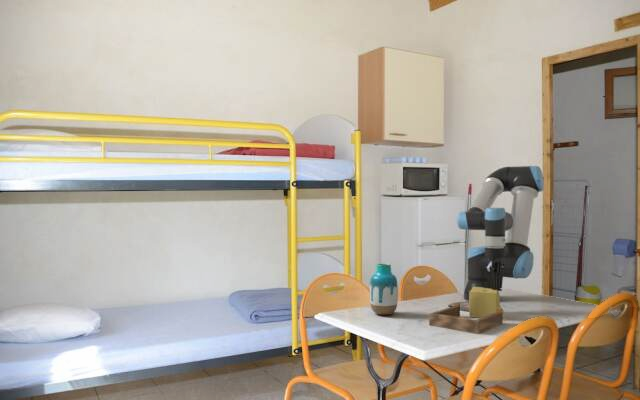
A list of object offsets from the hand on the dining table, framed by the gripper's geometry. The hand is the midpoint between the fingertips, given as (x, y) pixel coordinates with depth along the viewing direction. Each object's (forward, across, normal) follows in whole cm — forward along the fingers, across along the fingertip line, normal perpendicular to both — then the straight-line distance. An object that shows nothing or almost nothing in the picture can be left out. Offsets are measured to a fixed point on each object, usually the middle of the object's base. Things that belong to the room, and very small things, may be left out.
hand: (495, 307), depth 208 cm
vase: (+2, -32, +30) cm, 44 cm away
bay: (+2, -25, -1) cm, 25 cm away
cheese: (+2, -9, 0) cm, 9 cm away
